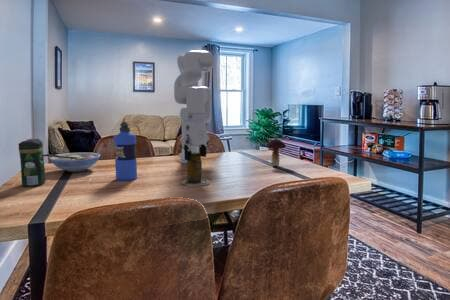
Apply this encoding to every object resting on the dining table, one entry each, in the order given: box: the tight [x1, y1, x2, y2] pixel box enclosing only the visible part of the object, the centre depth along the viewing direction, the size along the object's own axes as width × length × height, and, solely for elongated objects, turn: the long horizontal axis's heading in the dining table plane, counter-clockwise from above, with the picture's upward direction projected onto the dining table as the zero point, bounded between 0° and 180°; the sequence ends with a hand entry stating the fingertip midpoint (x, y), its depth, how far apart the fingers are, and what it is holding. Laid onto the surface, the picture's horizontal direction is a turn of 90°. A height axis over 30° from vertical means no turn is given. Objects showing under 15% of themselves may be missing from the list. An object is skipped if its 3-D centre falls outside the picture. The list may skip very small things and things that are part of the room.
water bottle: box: [113, 121, 138, 182], centre depth 143 cm, size 9×9×25 cm
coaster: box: [181, 178, 211, 188], centre depth 137 cm, size 12×12×1 cm
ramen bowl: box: [43, 152, 101, 173], centre depth 159 cm, size 25×23×8 cm
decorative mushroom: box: [265, 138, 287, 167], centre depth 173 cm, size 11×11×15 cm
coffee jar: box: [18, 138, 47, 188], centre depth 132 cm, size 10×8×19 cm
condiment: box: [183, 152, 207, 184], centre depth 136 cm, size 7×8×12 cm
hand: (195, 158), depth 137 cm, fingers open, 9 cm apart
